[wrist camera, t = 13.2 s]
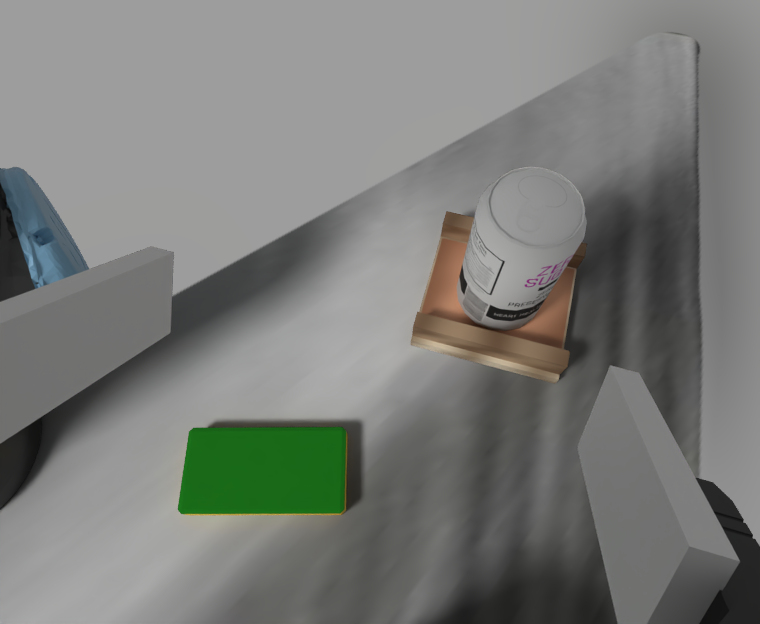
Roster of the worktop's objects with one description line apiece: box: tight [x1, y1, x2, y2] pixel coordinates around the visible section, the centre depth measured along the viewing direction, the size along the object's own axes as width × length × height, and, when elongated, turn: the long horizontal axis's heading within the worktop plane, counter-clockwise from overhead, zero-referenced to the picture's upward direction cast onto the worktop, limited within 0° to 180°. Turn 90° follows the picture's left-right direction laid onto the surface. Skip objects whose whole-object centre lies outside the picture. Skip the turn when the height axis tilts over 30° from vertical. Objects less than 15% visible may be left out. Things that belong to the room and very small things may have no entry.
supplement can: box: [456, 166, 587, 331], centre depth 45 cm, size 8×8×15 cm
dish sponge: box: [178, 427, 348, 515], centre depth 46 cm, size 7×14×2 cm, turn 90°
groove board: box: [411, 211, 587, 383], centre depth 51 cm, size 14×14×4 cm
